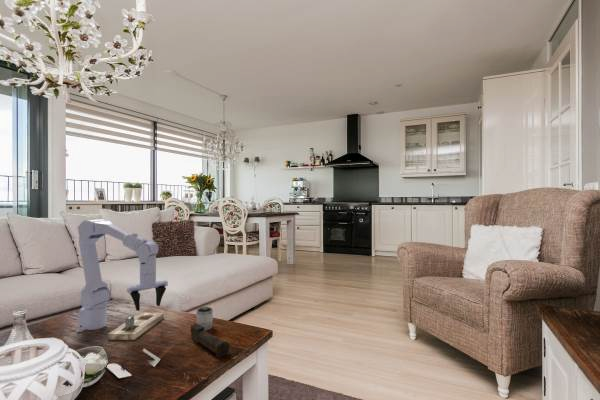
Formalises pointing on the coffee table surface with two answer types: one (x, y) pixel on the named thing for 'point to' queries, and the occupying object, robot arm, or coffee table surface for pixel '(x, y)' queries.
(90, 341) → the coffee table surface
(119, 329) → the tool board
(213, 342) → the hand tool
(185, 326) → the coffee table surface
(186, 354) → the coffee table surface
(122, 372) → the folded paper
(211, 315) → the camera lens
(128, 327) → the grey cylinder
